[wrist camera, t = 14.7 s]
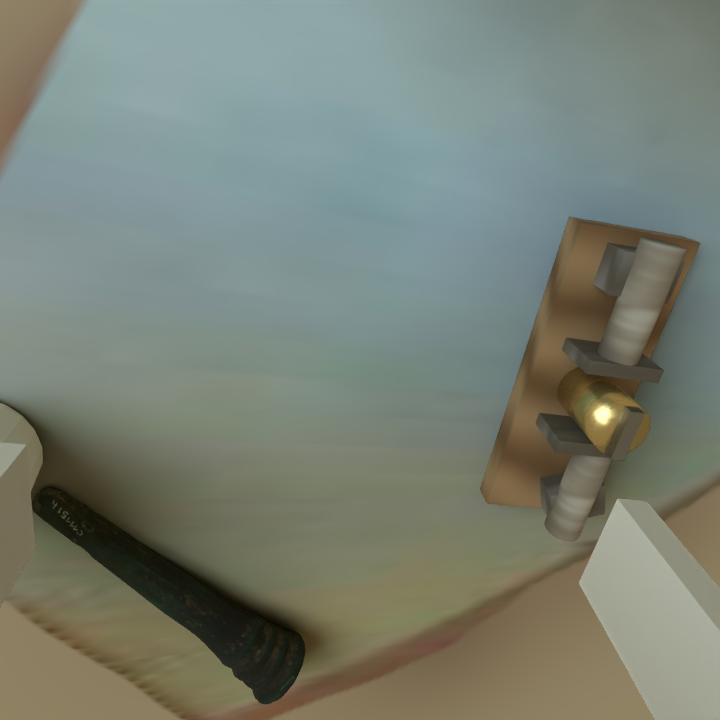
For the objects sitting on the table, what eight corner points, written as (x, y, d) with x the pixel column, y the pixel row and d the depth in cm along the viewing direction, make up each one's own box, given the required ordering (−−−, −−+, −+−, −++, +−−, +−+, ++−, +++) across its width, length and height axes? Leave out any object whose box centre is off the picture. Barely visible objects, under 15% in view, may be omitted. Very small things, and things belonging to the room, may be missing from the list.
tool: (312, 624, 55) (313, 688, 49) (263, 656, 57) (259, 722, 51) (85, 453, 45) (51, 507, 39) (32, 497, 46) (-9, 557, 40)
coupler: (566, 362, 42) (610, 408, 36) (614, 368, 43) (666, 414, 37) (550, 408, 44) (589, 458, 38) (596, 413, 45) (643, 464, 38)
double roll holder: (569, 216, 39) (611, 236, 34) (682, 236, 41) (740, 258, 35) (480, 488, 49) (501, 537, 44) (574, 497, 51) (606, 545, 45)
